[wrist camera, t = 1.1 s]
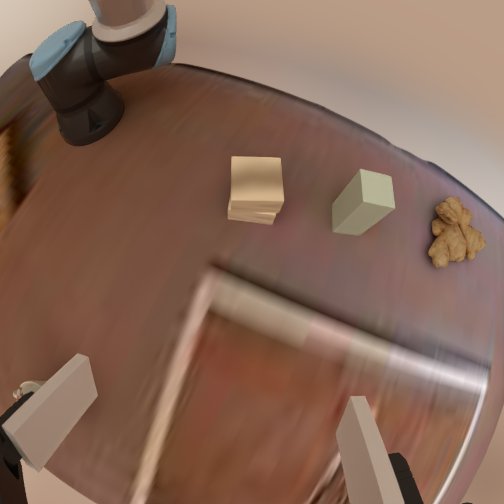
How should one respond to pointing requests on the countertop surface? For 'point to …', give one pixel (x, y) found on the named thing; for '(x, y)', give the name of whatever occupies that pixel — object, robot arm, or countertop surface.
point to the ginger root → (454, 234)
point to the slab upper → (256, 184)
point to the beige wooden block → (251, 216)
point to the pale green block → (362, 203)
